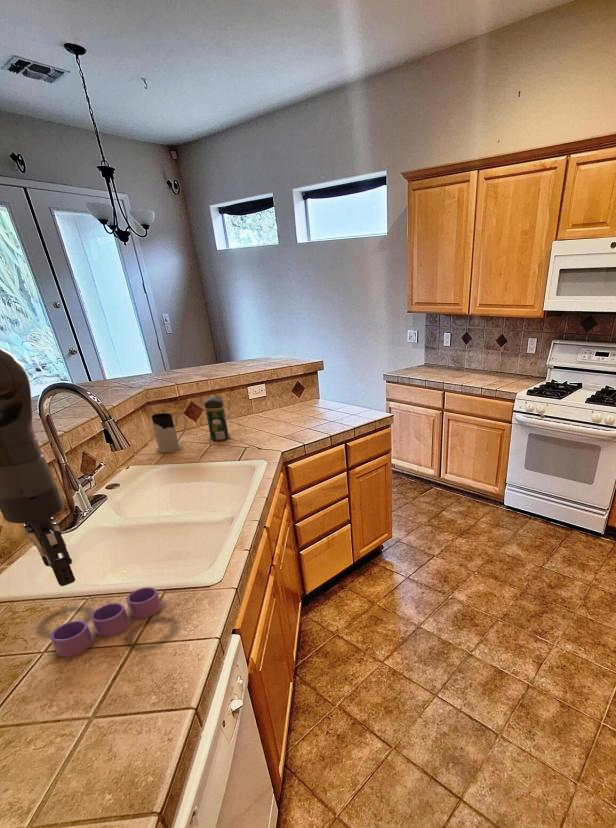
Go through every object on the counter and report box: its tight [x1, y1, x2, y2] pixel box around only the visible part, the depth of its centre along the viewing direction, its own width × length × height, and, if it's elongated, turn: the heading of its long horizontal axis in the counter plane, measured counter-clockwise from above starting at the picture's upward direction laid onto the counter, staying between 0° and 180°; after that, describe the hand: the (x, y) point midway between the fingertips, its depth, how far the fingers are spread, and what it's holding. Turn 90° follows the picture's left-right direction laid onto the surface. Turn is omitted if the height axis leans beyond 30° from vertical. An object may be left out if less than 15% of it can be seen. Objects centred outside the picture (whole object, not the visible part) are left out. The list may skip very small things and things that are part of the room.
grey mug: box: [150, 412, 187, 453], centre depth 182 cm, size 9×14×15 cm, turn 146°
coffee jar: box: [203, 396, 230, 442], centre depth 196 cm, size 10×8×19 cm
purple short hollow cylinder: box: [49, 619, 94, 658], centre depth 80 cm, size 6×6×4 cm
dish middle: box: [90, 602, 130, 637], centre depth 85 cm, size 6×6×4 cm
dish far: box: [125, 586, 162, 619], centre depth 90 cm, size 6×6×4 cm
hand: (60, 573), depth 74 cm, fingers open, 8 cm apart
